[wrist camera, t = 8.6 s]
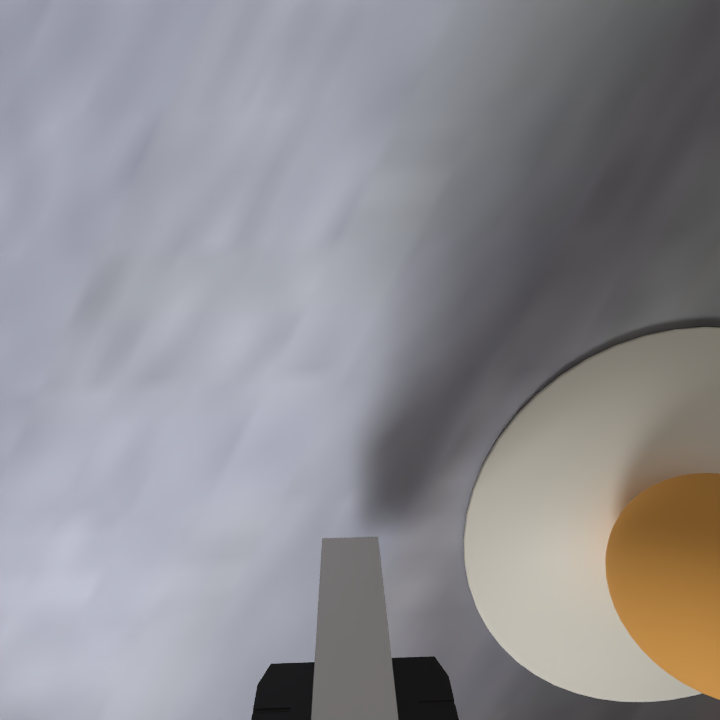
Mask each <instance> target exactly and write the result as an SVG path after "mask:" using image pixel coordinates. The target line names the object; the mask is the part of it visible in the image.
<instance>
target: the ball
mask: <svg viewBox="0 0 720 720" xmlns="http://www.w3.org/2000/svg"><path fill="white" fill-rule="evenodd" d="M605 566H606V579H607V584H608V589H609V593H610V596H611V599H612V602H613V605H614V608H615V610H616V612H617V614H618V616H619V618H620V620H621V622H622V623H623V625H624V626H625V628H626V630H627V631H628V633H629V634H630V636H631V637H632V638H633V640H634V641H635V642H636V643H637V645H638V646H639V647H640V648H641V650H642V651H643V652H644V653H645V654H646V655H647V656H648V657H649V658H650V659H651V660H652V661H653V662H654V663H656V664H657V665H658V666H659V667H661V668H662V669H663V670H664V671H665V672H667V673H668V674H670V675H671V676H673V677H674V678H676V679H677V680H679V681H680V682H682V683H683V684H685V685H687V686H689V687H691V688H693V689H695V690H697V691H699V692H701V693H704V694H706V695H709V696H711V697H714V698H716V699H720V474H718V473H695V474H687V475H681V476H677V477H673V478H670V479H667V480H664V481H661V482H659V483H657V484H655V485H653V486H651V487H649V488H648V489H646V490H645V491H643V492H641V493H640V494H639V495H637V496H636V497H635V498H634V499H633V500H632V501H631V502H630V503H629V504H628V505H627V506H626V507H625V508H624V510H623V511H622V512H621V513H620V515H619V517H618V519H617V520H616V522H615V524H614V526H613V528H612V530H611V533H610V536H609V540H608V544H607V549H606V557H605Z"/></svg>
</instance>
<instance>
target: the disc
mask: <svg viewBox="0 0 720 720" xmlns="http://www.w3.org/2000/svg"><path fill="white" fill-rule="evenodd" d="M695 473H718V474H720V327H694V328H682V329H672V330H668V331H663V332H658V333H653V334H648V335H644V336H641V337H638V338H635V339H632V340H629V341H626V342H623V343H620V344H617V345H614V346H612V347H610V348H608V349H606V350H604V351H602V352H599V353H597V354H595V355H593V356H591V357H589V358H587V359H585V360H583V361H582V362H580V363H579V364H577V365H576V366H574V367H572V368H571V369H569V370H568V371H566V372H564V373H563V374H561V375H560V376H558V377H557V378H556V379H555V380H553V381H552V382H551V383H550V384H548V385H547V386H546V387H545V388H543V389H542V390H541V391H540V392H539V393H537V394H536V395H535V396H534V397H533V398H532V399H531V400H530V401H529V402H528V403H527V404H526V405H525V406H524V407H523V408H522V409H521V410H520V411H519V412H518V413H517V414H516V415H515V417H514V418H513V419H512V421H511V422H510V423H509V424H508V426H507V427H506V428H505V430H504V431H503V432H502V434H501V435H500V436H499V437H498V439H497V441H496V442H495V444H494V446H493V447H492V449H491V451H490V452H489V454H488V456H487V458H486V459H485V461H484V463H483V465H482V467H481V470H480V472H479V475H478V477H477V479H476V482H475V484H474V486H473V490H472V493H471V497H470V501H469V504H468V508H467V512H466V520H465V528H464V536H463V540H464V563H465V568H466V574H467V579H468V584H469V587H470V590H471V593H472V596H473V598H474V601H475V604H476V607H477V610H478V611H479V613H480V615H481V617H482V619H483V621H484V623H485V624H486V626H487V628H488V630H489V631H490V632H491V634H492V635H493V636H494V637H495V639H496V640H497V641H498V643H499V644H500V645H501V647H503V648H504V649H505V650H506V651H507V652H508V653H509V654H510V655H511V656H512V657H513V658H514V659H515V660H516V661H517V662H518V663H520V664H521V665H522V666H524V667H525V668H527V669H528V670H529V671H531V672H532V673H533V674H535V675H537V676H539V677H540V678H542V679H544V680H546V681H548V682H550V683H552V684H553V685H556V686H558V687H561V688H564V689H566V690H569V691H572V692H574V693H577V694H581V695H586V696H590V697H594V698H598V699H605V700H613V701H621V702H652V701H663V700H673V699H678V698H683V697H688V696H693V695H698V694H701V692H699V691H697V690H695V689H693V688H691V687H689V686H687V685H685V684H683V683H682V682H680V681H679V680H677V679H676V678H674V677H673V676H671V675H670V674H668V673H667V672H665V671H664V670H663V669H662V668H661V667H659V666H658V665H657V664H656V663H654V662H653V661H652V660H651V659H650V658H649V657H648V656H647V655H646V654H645V653H644V652H643V651H642V650H641V648H640V647H639V646H638V645H637V643H636V642H635V641H634V640H633V638H632V637H631V636H630V634H629V633H628V631H627V630H626V628H625V626H624V625H623V623H622V622H621V620H620V618H619V616H618V614H617V612H616V610H615V608H614V605H613V602H612V599H611V596H610V593H609V589H608V584H607V579H606V566H605V557H606V549H607V544H608V540H609V536H610V533H611V530H612V528H613V526H614V524H615V522H616V520H617V519H618V517H619V515H620V513H621V512H622V511H623V510H624V508H625V507H626V506H627V505H628V504H629V503H630V502H631V501H632V500H633V499H634V498H635V497H636V496H637V495H639V494H640V493H641V492H643V491H645V490H646V489H648V488H649V487H651V486H653V485H655V484H657V483H659V482H661V481H664V480H667V479H670V478H673V477H677V476H681V475H687V474H695Z"/></svg>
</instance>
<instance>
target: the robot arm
mask: <svg viewBox="0 0 720 720" xmlns="http://www.w3.org/2000/svg"><path fill="white" fill-rule="evenodd" d="M251 720H459V719H458V715H457V711H456V706H455V704H454V698H453V693H452V689H451V685H450V680H449V676H448V675H447V673H446V672H445V671H444V669H443V668H442V666H441V665H440V664H439V662H438V661H437V659H436V658H435V657H408V658H391V649H390V640H389V631H388V622H387V613H386V604H385V595H384V586H383V577H382V568H381V559H380V550H379V541H378V537H354V538H322V552H321V568H320V584H319V600H318V617H317V633H316V649H315V662H310V663H281V664H271V665H270V666H269V668H268V669H267V671H266V673H265V674H264V676H263V677H262V679H261V680H260V682H259V684H258V686H257V691H256V697H255V702H254V708H253V714H252V719H251Z"/></svg>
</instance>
